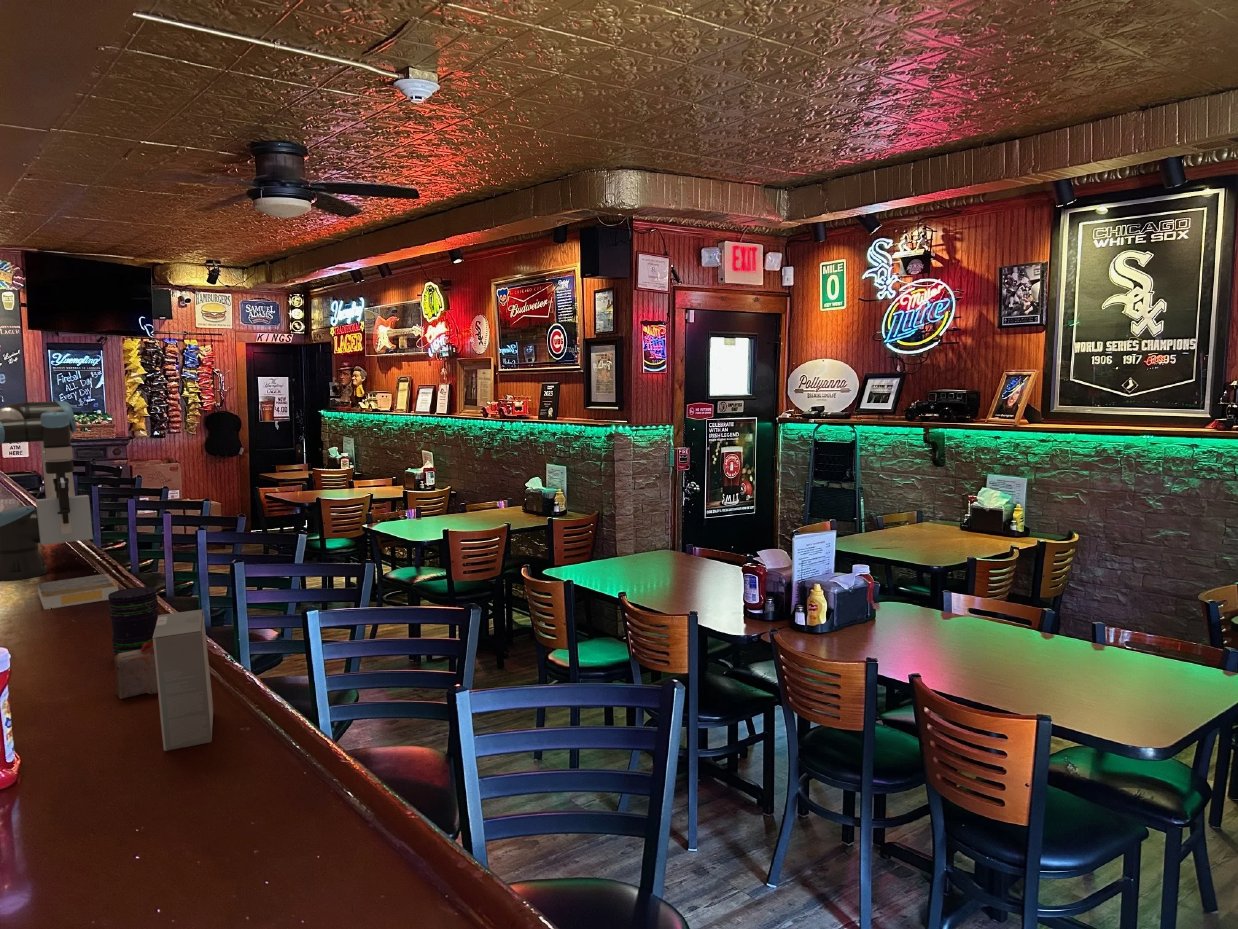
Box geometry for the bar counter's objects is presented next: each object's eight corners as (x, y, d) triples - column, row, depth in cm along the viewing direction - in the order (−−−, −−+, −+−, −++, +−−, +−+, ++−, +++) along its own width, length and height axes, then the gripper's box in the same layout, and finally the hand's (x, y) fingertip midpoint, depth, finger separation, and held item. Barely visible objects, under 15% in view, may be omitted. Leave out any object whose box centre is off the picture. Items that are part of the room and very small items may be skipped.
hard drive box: (167, 720, 157) (158, 614, 155) (213, 712, 160) (205, 608, 158) (162, 752, 143) (151, 636, 141) (212, 743, 146) (203, 629, 144)
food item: (188, 676, 181) (184, 631, 180) (195, 686, 175) (191, 639, 174) (114, 692, 173) (110, 644, 172) (119, 703, 167) (114, 654, 166)
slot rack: (38, 594, 262) (37, 582, 262) (108, 584, 274) (107, 573, 273) (44, 610, 243) (42, 597, 243) (119, 598, 254) (118, 586, 254)
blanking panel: (40, 542, 273) (35, 499, 272) (91, 536, 282) (87, 494, 280) (41, 545, 269) (36, 501, 268) (92, 539, 278) (88, 496, 276)
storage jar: (107, 664, 191) (101, 599, 189) (120, 651, 200) (114, 589, 199) (156, 659, 193) (151, 594, 192) (167, 647, 203) (161, 585, 201)
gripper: (42, 459, 278) (49, 530, 280) (47, 463, 263) (54, 537, 266) (70, 457, 282) (76, 527, 285) (75, 461, 268) (82, 534, 270)
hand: (65, 532), depth 275 cm, fingers closed on blanking panel, 5 cm apart
